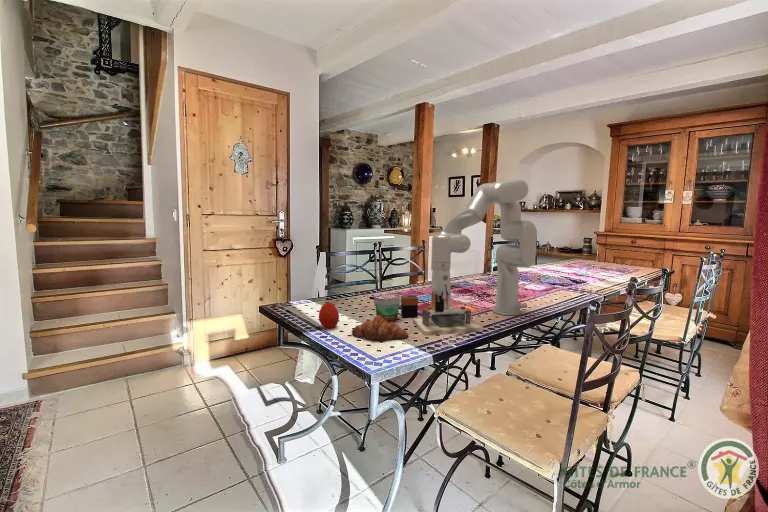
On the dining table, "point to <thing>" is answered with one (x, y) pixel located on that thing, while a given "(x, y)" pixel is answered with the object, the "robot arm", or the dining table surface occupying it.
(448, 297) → the small box
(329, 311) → the red egg
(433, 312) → the clamp bar
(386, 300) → the food container
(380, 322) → the pastry
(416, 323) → the heatsink board
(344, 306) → the dining table surface
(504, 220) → the robot arm
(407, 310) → the battery
